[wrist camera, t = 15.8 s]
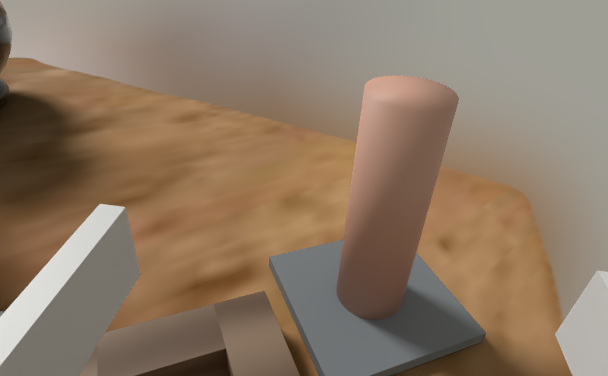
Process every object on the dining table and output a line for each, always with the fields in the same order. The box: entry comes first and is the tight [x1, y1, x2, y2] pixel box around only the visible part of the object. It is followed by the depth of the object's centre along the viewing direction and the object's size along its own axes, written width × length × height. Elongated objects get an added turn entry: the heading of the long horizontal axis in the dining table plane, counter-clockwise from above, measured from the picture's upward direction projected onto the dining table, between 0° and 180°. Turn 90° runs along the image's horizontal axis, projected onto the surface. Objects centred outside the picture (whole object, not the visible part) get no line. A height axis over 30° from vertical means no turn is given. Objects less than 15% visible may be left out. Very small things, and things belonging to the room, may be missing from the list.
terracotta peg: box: [336, 75, 459, 320], centre depth 27 cm, size 5×5×16 cm
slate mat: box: [269, 240, 486, 376], centre depth 32 cm, size 12×12×1 cm
